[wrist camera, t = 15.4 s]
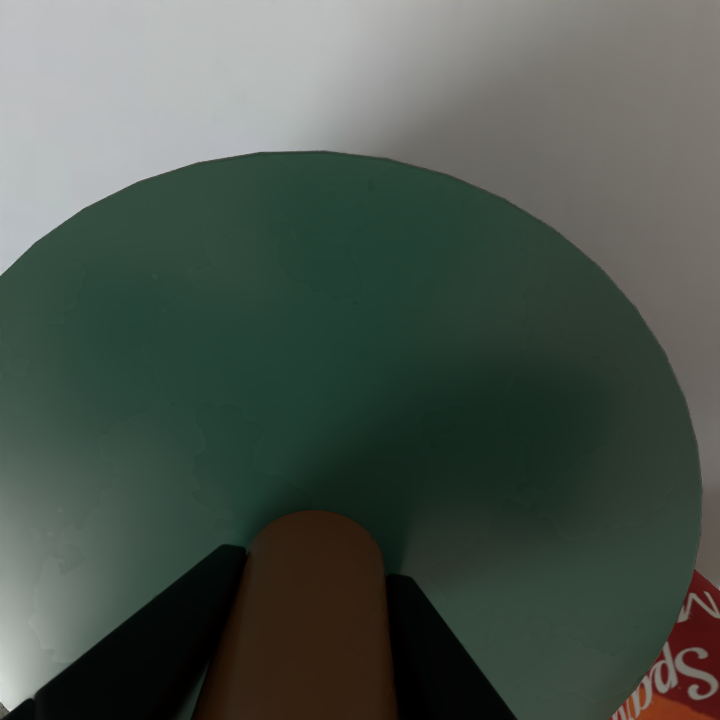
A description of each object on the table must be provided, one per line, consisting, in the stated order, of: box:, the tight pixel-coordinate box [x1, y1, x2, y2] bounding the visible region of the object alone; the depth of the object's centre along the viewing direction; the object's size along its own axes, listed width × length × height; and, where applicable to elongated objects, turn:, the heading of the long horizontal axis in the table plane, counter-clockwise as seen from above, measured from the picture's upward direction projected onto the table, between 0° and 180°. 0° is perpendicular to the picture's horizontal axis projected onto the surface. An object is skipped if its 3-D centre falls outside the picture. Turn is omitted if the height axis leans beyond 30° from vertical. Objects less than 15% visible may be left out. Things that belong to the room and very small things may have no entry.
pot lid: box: [0, 151, 703, 720], centre depth 6 cm, size 13×13×5 cm
